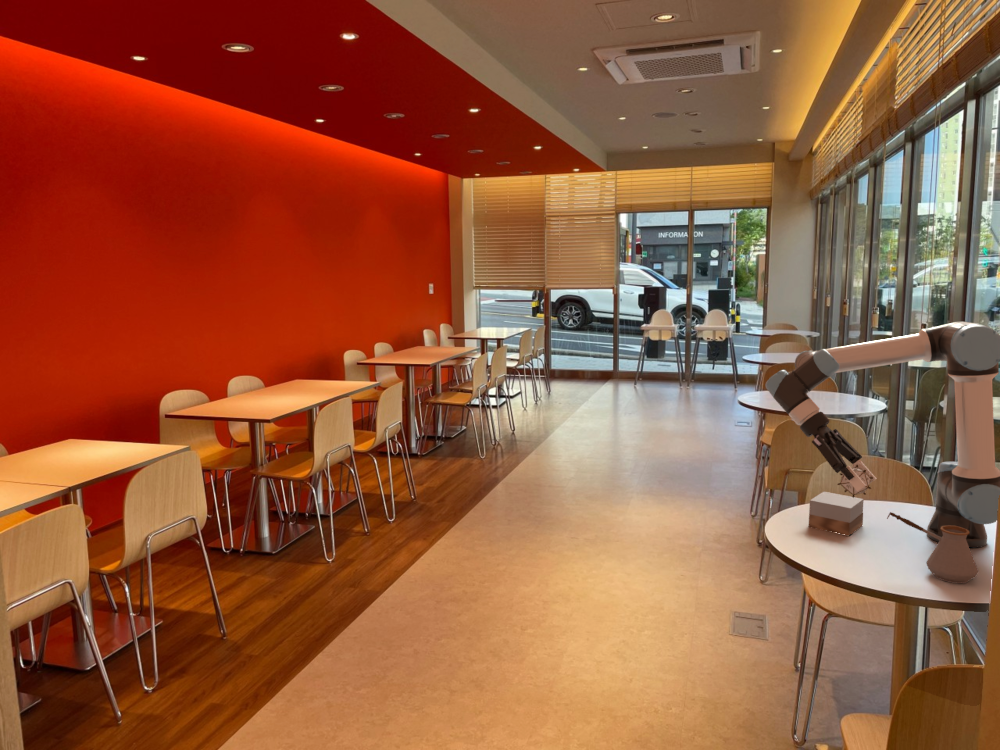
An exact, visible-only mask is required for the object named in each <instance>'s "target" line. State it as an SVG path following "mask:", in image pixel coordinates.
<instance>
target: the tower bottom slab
mask: <svg viewBox="0 0 1000 750" xmlns="http://www.w3.org/2000/svg"><path fill="white" fill-rule="evenodd" d="M808 514H809V513H808ZM863 523H864V512H863V513H862V514H861V515H860V516H858V517H857V518H856V519H854V520H853V521H852V522H850V523H848V522H844V521H839V520H834V519H829V518H825V517H820V516H815V515H810V514H809V515H808V527H809V528H811V527H812V529H815V528H817V529H816V530H820V529H821V530H820V531H824V530H827V531H826V532H829V531H832V532H831V533H833V532H837V533H836V534H838V533H840V534H839V535H842V534H845V535H844V536H846V535H850V534H851V535H852V534H854V533H855V532H856V531H858V530H859V529H861V528H862V527H863V526H862V525H864V524H863ZM861 526H862V527H861ZM860 527H861V528H860ZM858 528H859V529H858ZM857 529H858V530H857ZM855 530H856V531H855ZM854 531H855V532H854ZM853 532H854V533H853ZM851 535H850V536H851Z"/></svg>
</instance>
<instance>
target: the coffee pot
mask: <svg viewBox="0 0 1000 750" xmlns="http://www.w3.org/2000/svg"><path fill="white" fill-rule="evenodd" d="M890 516H892V517H895V518H896V520H900V521H901V522H902V523H904V524H905V525H907V526H909V527H912V528H913V529H916V530H918V531H921V532H922V533H925V534H926V535H927V534H928V535H930V536H932V537H934V538H936V539H938V540H940V541H939V542H937V544H936V545H935V547H934V549H933V551H932V552H931V554H930V556H929V557H928V559H927V560H926V566H927V569H928V570H929V571H930V573H932V574H933V575H934V577H935V578H937V579H939V580H941V581H945V582H948V583H953V584H965V583H968V582H969V581H971V580H973V579H974V578H976V577H977V575H978V573H979V568H978V566H977V563H976V561H975V558H974V556H973V554H972V552H971V548H969V546H968V543H967V541H966V537H967V535H968V534H969V533H970V532H969V531H968V530H967V529H965V528H962V527H958V526H942V527H941V528H940V529H941V530H942V533H943V536H942V537H940V536H938V535H936V534H934V533H931V532H929V531H927V529H925V528H924V527H922V526H920V525H919V524H916V523H915V522H913V521H912V520H910V519H907V518H904V517H902V516H901V515H899V514H898V515H897V514H896V513H894V512H891V511H890V512H889V513H888V515H887V518H886V519H887V520H888V519H889V518H890Z"/></svg>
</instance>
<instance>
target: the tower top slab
mask: <svg viewBox="0 0 1000 750" xmlns="http://www.w3.org/2000/svg"><path fill="white" fill-rule="evenodd" d="M808 512H809V513H808V514H810V515H815V516H820V517H825V518H829V519H834V520H839V521H844V522H848V523H850V522H852V521H853V520H854V519H856V518H857V517H858V516H860V515H861V514H862V513H863V514H864V498H860V497H855V496H854V498H853V497H852V496H850V495H846V494H845V495H844V494H839V493H834V492H829V491H822V492H820V493H819V494H817V495H816V496H814V497H813V498H811V499H810V500H809V511H808Z"/></svg>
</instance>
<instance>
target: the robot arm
mask: <svg viewBox="0 0 1000 750" xmlns="http://www.w3.org/2000/svg"><path fill="white" fill-rule="evenodd" d="M921 360H923V361H924V362H926V363H930V362H939V361H940V362H941V361H942V362H946V363H947V364H946V367H947V375H948V376H949V377H950V378H951V379H952V380H953V381H954V397H955V398H954V401H955V402H954V403H955V423H956V424H955V426H956V427H955V429H956V447H957V448H956V449H957V450H956V451H957V461H943V462H940V463H939V465H938V471H937V484H936V496H935V497H936V500H935V509H934V513H933V515H932V517H931V519H930V521H929V523H928V525H927V527H926V530H927V531H929V532H931V533H934V534H936V535H938V536H940V537H942V536H943V533H942V530H941V529H940V528H941V527H942V526H958V527H962V528H965V529H967V530H968V531H969V532H970V533H969V534H968V535H967V537H966V541H967V543H968V546H969V547H978V548H982V547H981V546H983V547H985V546H987V545H988V534H987V531H986V526H985V525H990V524H994V523H997V522H996V520H997V509H998V498H999V495H1000V469H999V468H998V467H996V451H995V425H994V423H995V422H994V401H993V400H994V399H993V398H994V395H993V392H994V391H993V379H994V378H995V377H996V376H997V375H998V374H999V362H1000V334H999V333H998V331H996V330H995V329H993V328H992V327H990V326H988V325H985V324H981V323H977V322H969V321H954V322H951V323H945V324H941V325H938V326H937V325H936V326H933V327H927V328H921V329H920V330H919V332H918V333H915V334H908V335H903V336H896V337H891V338H885V339H878V340H872V341H866V342H861V343H855V344H849V345H843V346H836V347H830V348H821V349H819V350H804V351H801V352H800V353H799V354H797V356H796V357H795V359H794V367H795V368H794V369H792V371H790V372H788V371H787V370H786V369H781V370H779V371H777V372H776V373H774V374H773V375H771V376H770V377H769V379H767V381H766V382H765V385H764V386H765V389H766V390H767V392H769V394H770V395H771V397H772V398H773V399H774V401H776V402H777V404H778V405H780V407H781V409H783V410H784V412H786V414H787V415H788V416H789V417H790V421H793V422H794V424H795V425H797V426H799V429H800V430H801V432H802V433H803V434H804V435H805V437H807V438H809V437H813V438H814V439H813V440H811V443H812V444H813V445H814V447H815V448H817V450H818V451H819V452H820V453H821V455H822V456H823V457H824V459H825V460H826V461H827V463H828V464H829V465H830V466H831V468H832V469H833V471H834V472H835V473H836V474H838V473H842V474H843V475H844V476H845V478H846V479H847V480H848V481H849V482H850V483H851V485H852V486H853V487H854V488H855V489H856V490H857V491H859V490H860V489H862V488H863V487H864V486H866V484H865V483H864V482H863V481H862V480H861V478H860V477H859V476H858V475H857V474H856V473H855V472H854V470H853V469H852V468H855V467H856V465H858V468H859V469H861V470H863V471H864V470H866V472H865V473H866V474H867V475H868V476H869V477H873V479H870V484H872V482H874V481H875V480H877V477H876V476H875V475H874V474H873V473H872V471H870V469H869V468H868V467H867V465H865V463H863V461H862V458H863V456H862V455H861V454H860V452H859V451H858V450H856V449H855V448H854V446H853V445H851V443H849V441H848V440H847V439H846V438H844V436H842V434H841V433H840V432H839V430H838V429H837V428H834V429H833V430H832V429H831V428H830V427H829V426H828V425H829V423H830V419H829V418H828V416H826V414H825V413H824V412H822V411H820V407H819V406H818V405H817V404H816V403H815V402H814V401H813V400H812V398H811V397H809V395H808V393H810V392H811V391H813V390H814V389H815V388H816V387H818V386H819V385H821V384H822V383H823V382H825V381H826V380H828V379H829V378H831V377H832V376H834V375H835V374H837V373H843V372H844V373H845V372H850V371H851V372H852V371H857V370H863V369H869V368H870V369H871V368H877V367H883V366H889V365H894V364H902V363H907V362H914V361H921ZM843 458H844V459H843ZM845 459H846V460H847V461H848V462H849V463H850V464H852V465H851V466H850V465H847V463H846V461H845ZM926 536H927V537H928V538H929V539H930V540H933V541H934V542H937V543H939V541H940V540H938V539H936V538H934V537H932V536H930V535H928V534H927V533H926Z"/></svg>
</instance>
